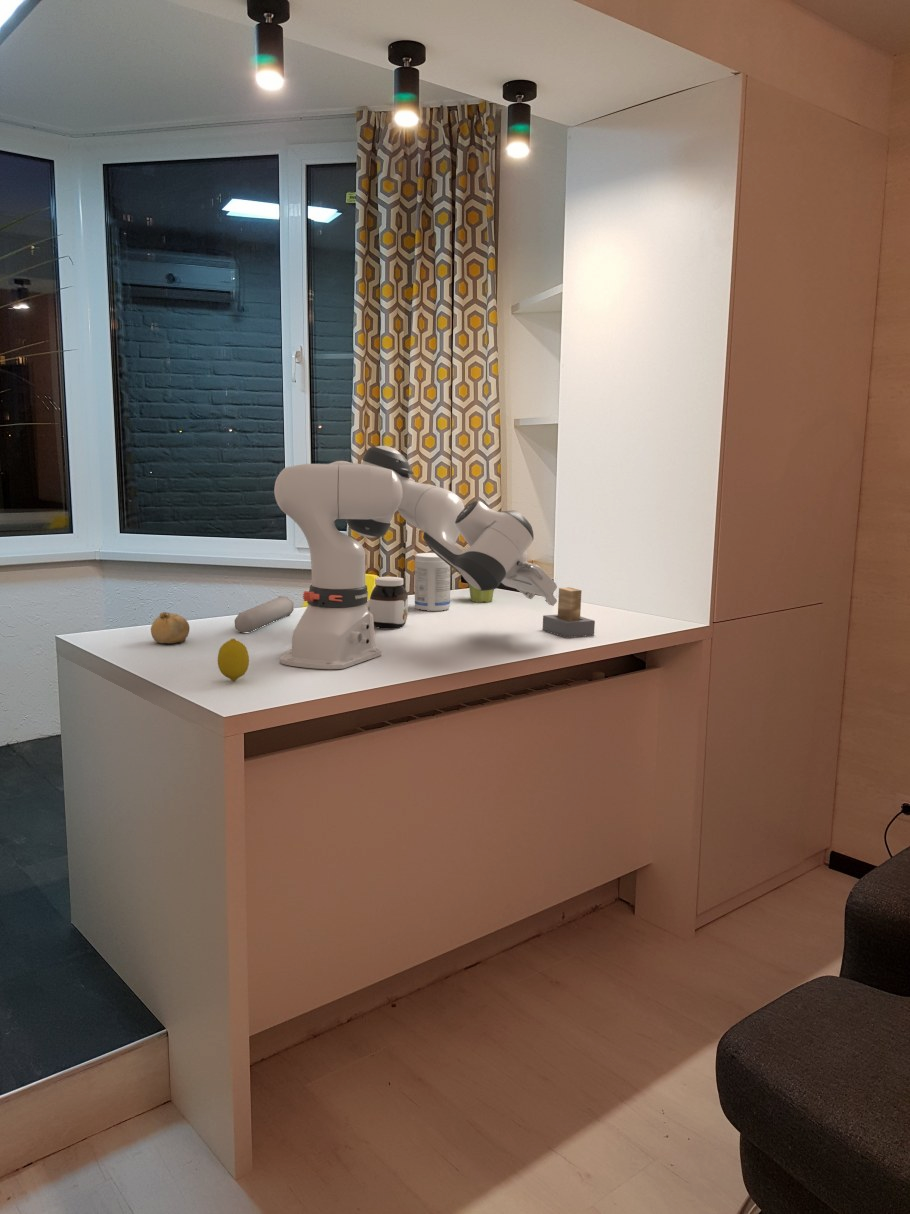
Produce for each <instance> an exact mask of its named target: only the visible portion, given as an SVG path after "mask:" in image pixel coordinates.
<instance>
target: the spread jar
mask: <svg viewBox="0 0 910 1214" xmlns="http://www.w3.org/2000/svg"><path fill="white" fill-rule="evenodd" d="M374 585H375V586H374V587H373V589H372V591H371V593H370V597H369V599H367V603H366V606H367V608H368V610H369V612H370V613H371V614H372V615H373V620H374V628H376V627H379V628H378V629H381V628H397V629H401V628H400V627H402V628H403V627H404V626H405V624H406V623H407V620H408V612H409V611H408V609H409V608H408V607H409V606H408V605H409V596H408V595H409V594H408V592H407V589H406V588H405V587H404V586H403V585H404V578H403V577H397V576H379V577H375V578H374Z"/></svg>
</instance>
